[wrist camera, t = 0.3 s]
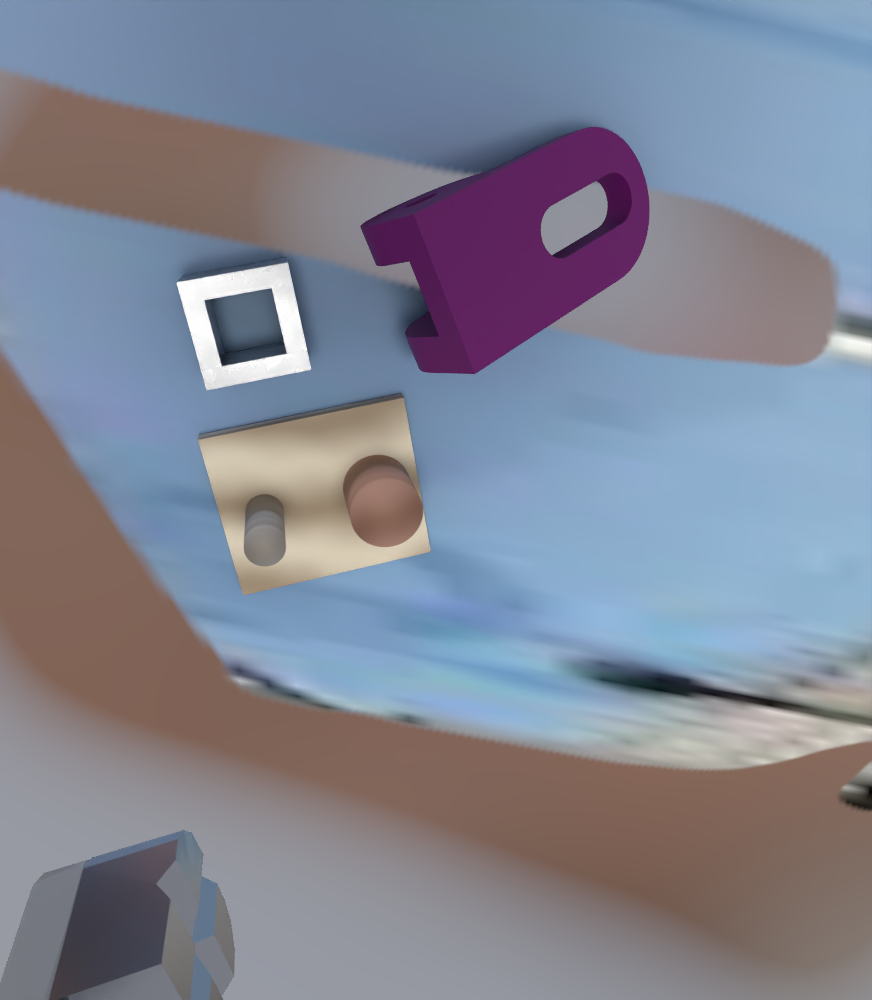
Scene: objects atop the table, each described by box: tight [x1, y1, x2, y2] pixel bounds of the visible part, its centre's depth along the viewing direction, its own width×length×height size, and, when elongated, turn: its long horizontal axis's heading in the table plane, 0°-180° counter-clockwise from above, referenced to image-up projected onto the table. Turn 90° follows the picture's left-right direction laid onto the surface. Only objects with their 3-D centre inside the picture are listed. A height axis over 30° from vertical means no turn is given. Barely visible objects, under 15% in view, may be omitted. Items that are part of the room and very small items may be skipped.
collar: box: [177, 257, 311, 390], centre depth 49 cm, size 6×6×4 cm
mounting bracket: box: [360, 127, 649, 374], centre depth 50 cm, size 9×8×18 cm
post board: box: [198, 394, 431, 595], centre depth 53 cm, size 12×14×7 cm
